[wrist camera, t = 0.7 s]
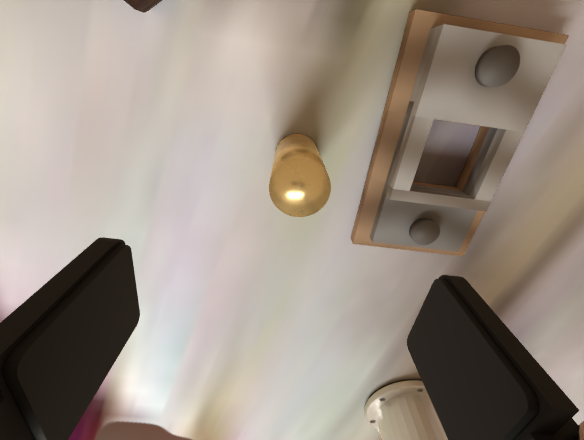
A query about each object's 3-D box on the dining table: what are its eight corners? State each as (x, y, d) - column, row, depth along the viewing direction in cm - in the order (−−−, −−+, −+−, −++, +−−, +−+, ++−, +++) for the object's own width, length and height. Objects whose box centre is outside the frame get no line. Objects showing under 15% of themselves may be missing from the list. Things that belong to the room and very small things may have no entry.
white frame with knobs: (457, 250, 31) (479, 272, 28) (350, 237, 30) (359, 259, 27) (555, 37, 22) (606, 29, 19) (409, 12, 22) (433, -1, 18)
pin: (314, 178, 27) (324, 220, 19) (273, 173, 27) (266, 213, 19) (321, 136, 26) (336, 163, 18) (277, 130, 25) (272, 154, 17)
